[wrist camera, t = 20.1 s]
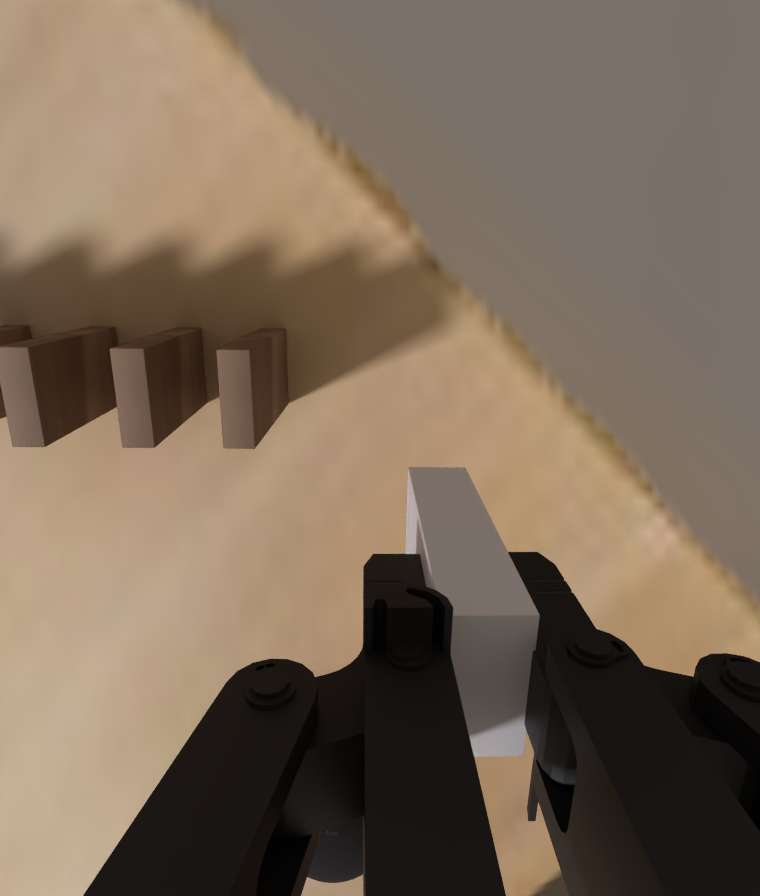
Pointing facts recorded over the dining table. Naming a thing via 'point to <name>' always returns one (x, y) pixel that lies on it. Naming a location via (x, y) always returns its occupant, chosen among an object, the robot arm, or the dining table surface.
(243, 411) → the domino
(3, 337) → the domino
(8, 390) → the domino
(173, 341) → the domino
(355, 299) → the dining table surface
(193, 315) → the dining table surface
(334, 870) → the speaker
